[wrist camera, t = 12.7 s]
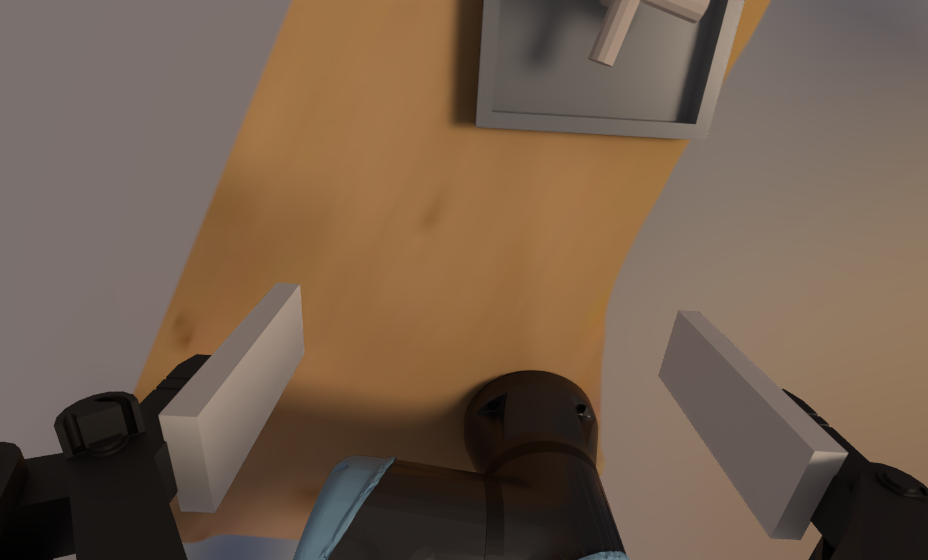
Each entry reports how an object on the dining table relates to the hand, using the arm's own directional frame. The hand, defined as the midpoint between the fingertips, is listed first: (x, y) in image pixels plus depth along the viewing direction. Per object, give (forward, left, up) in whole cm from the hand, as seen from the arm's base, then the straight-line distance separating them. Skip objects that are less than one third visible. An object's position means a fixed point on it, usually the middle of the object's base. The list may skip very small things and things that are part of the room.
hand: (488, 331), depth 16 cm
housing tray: (+14, -10, -27) cm, 32 cm away
